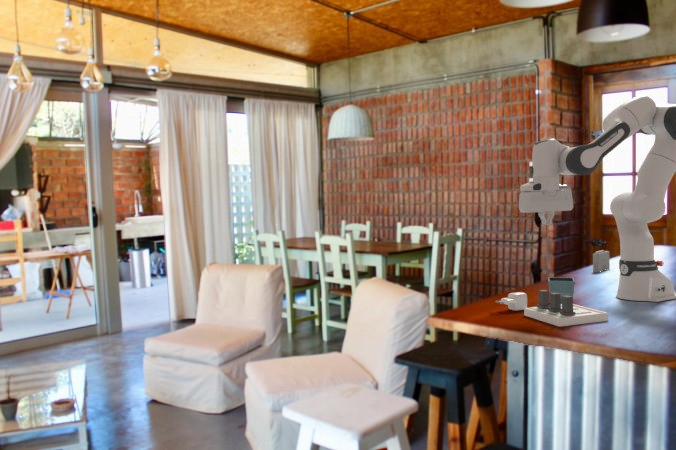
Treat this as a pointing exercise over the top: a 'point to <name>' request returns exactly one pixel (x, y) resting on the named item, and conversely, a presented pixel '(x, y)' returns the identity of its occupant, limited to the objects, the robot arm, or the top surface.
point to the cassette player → (600, 261)
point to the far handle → (543, 299)
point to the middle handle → (555, 302)
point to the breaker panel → (558, 319)
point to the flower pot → (561, 286)
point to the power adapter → (515, 301)
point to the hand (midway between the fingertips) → (546, 224)
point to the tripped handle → (567, 306)
